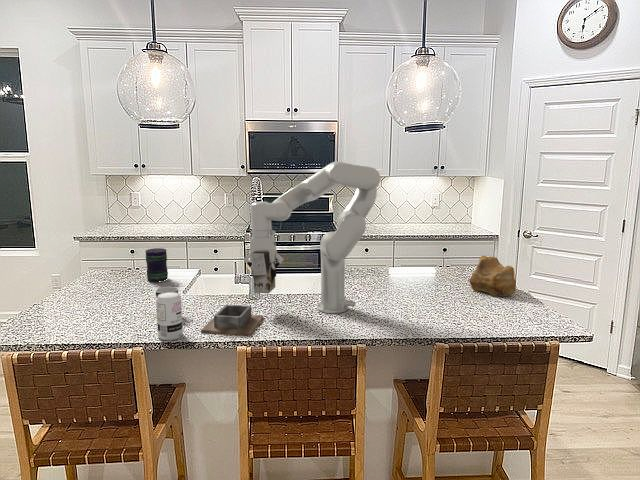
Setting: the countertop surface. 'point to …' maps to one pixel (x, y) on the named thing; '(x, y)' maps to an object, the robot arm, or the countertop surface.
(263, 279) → the coffee box
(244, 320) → the holder stand
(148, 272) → the storage jar
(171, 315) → the supplement can
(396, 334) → the countertop surface
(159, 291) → the coffee mug
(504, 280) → the rough brown rock
